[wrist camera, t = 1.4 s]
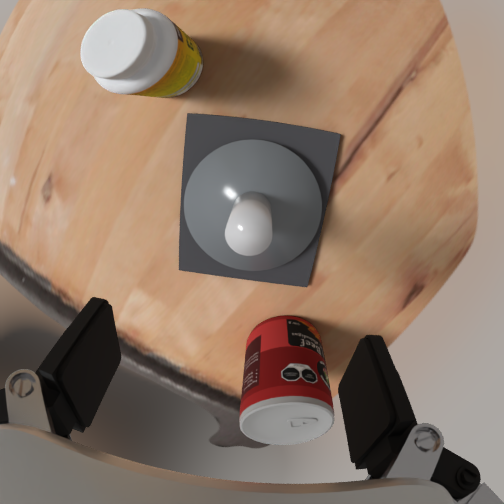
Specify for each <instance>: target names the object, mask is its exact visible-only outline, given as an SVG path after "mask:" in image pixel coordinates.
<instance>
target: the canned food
mask: <svg viewBox="0 0 504 504" xmlns="http://www.w3.org/2000/svg"><path fill="white" fill-rule="evenodd" d="M239 421H240V428H241V431H242V432H243V433H244V434H245V435H246V436H247V437H249V438H251V439H253V440H256V441H258V442H262V443H267V444H274V445H289V444H298V443H303V442H306V441H310V440H312V439H315V438H318V437H319V436H321V435H323V434H324V433H326V432H327V431H328V430H329V429H330V428H331V427H332V425H333V423H334V409H333V402H332V396H331V390H330V384H329V379H328V374H327V368H326V363H325V358H324V353H323V347H322V342H321V338H320V335H319V333H318V332H317V330H316V329H315V327H314V326H313V325H312V324H311V323H309V322H308V321H306V320H304V319H302V318H299V317H294V316H278V317H273V318H270V319H267V320H265V321H263V322H261V323H260V324H258V325H257V326H256V327H255V328H254V329H253V331H252V332H251V334H250V335H249V337H248V340H247V344H246V354H245V365H244V375H243V386H242V396H241V406H240V420H239Z"/></svg>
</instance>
